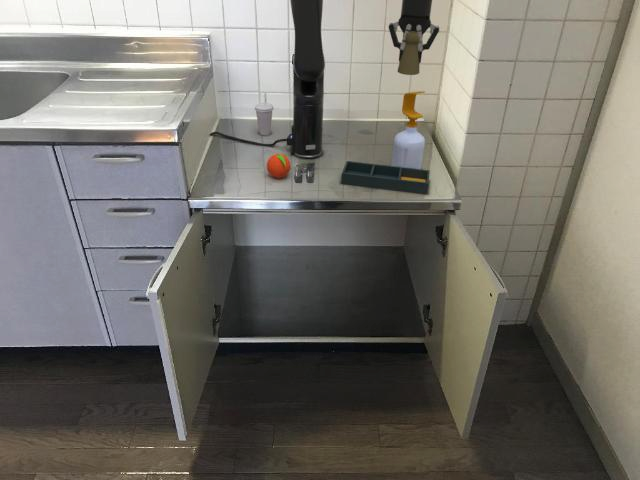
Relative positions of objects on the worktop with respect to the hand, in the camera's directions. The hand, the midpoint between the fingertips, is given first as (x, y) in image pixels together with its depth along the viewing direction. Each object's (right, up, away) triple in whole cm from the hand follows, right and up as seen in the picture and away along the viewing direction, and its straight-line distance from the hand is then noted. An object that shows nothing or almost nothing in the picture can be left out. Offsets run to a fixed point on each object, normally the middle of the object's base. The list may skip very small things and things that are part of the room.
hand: (409, 63), depth 138 cm
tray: (-6, -31, +9) cm, 33 cm away
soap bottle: (+2, -27, +16) cm, 32 cm away
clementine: (-36, -30, +10) cm, 48 cm away
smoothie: (-44, -11, +37) cm, 59 cm away
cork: (0, -2, +1) cm, 2 cm away
